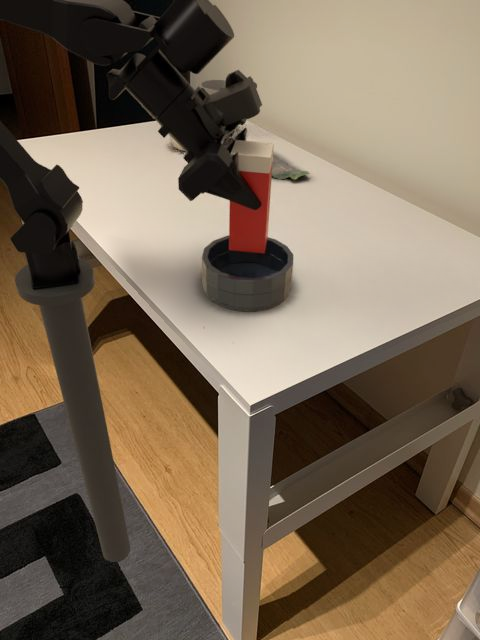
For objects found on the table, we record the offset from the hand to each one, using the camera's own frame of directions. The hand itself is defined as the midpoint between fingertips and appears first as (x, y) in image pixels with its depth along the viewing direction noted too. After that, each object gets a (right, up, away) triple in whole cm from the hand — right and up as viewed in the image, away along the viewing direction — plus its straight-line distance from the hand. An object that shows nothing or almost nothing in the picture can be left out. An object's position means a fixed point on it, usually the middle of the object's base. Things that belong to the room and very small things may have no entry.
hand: (260, 199), depth 71 cm
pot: (-2, -10, +9) cm, 14 cm away
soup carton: (-2, -5, +4) cm, 7 cm away
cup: (-10, +32, +58) cm, 67 cm away
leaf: (+2, +19, +44) cm, 48 cm away
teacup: (-16, +24, +48) cm, 56 cm away
